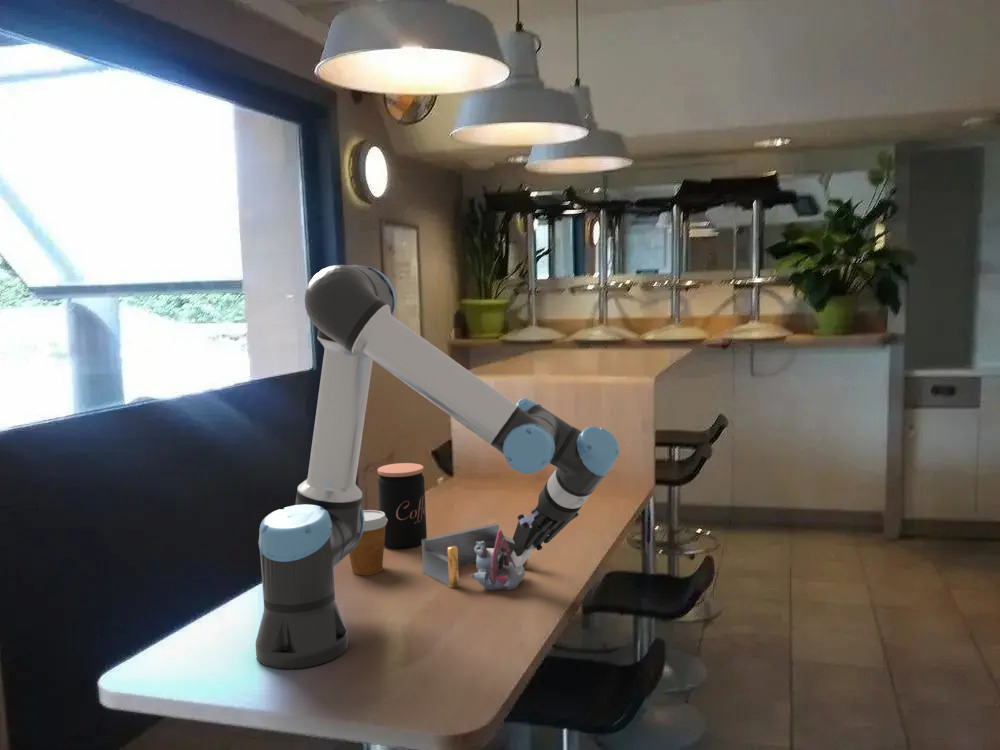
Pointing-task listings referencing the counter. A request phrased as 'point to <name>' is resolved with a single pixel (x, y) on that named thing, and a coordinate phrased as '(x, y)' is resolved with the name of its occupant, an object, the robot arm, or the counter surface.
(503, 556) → the brake caliper
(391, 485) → the coffee jar
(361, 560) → the disposable coffee cup
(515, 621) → the counter surface
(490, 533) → the bracket
